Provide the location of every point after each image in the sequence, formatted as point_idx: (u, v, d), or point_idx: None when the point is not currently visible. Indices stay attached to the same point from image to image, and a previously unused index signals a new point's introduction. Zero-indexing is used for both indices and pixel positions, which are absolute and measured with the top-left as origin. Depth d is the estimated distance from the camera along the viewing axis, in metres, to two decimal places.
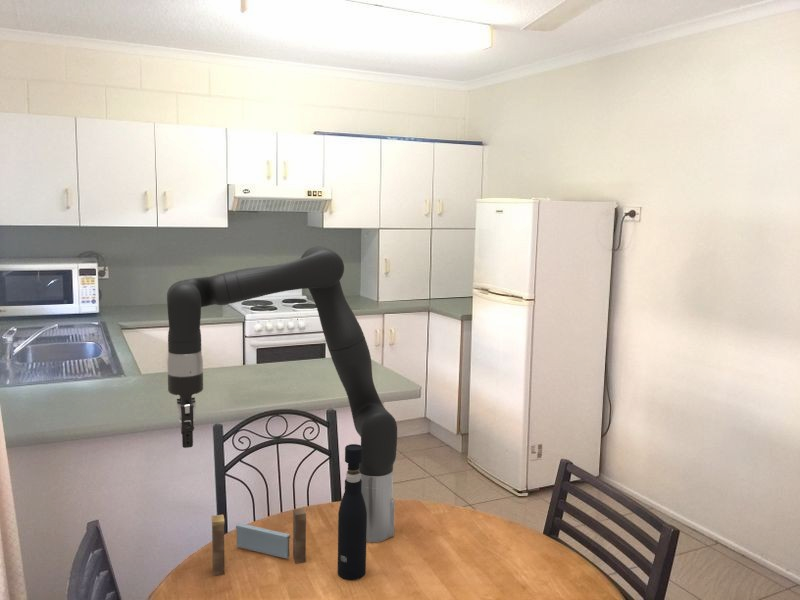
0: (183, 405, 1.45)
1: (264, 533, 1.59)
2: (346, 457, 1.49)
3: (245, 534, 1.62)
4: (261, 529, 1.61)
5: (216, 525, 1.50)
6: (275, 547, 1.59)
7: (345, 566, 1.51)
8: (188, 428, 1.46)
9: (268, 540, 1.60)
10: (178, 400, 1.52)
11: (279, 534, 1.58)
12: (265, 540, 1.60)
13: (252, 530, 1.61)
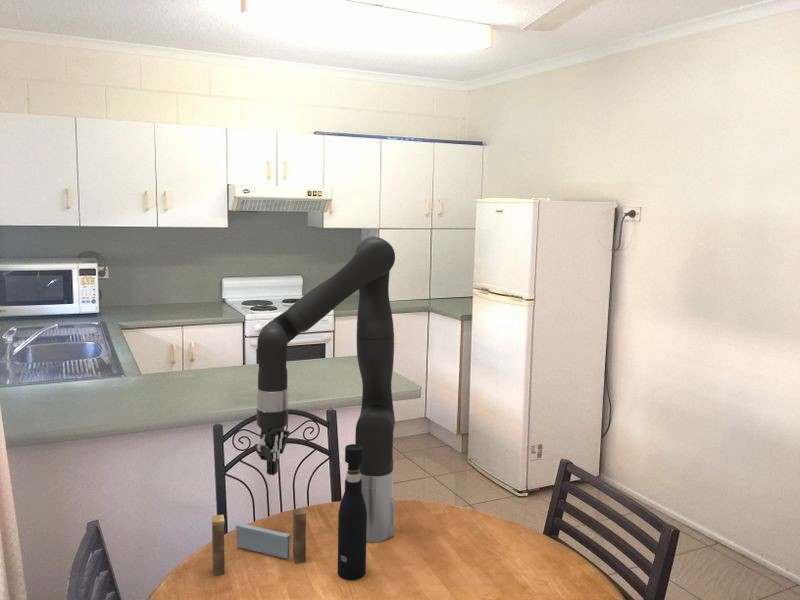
0: None
1: (264, 533, 1.59)
2: (346, 457, 1.49)
3: (245, 534, 1.62)
4: (261, 529, 1.61)
5: (216, 525, 1.50)
6: (275, 547, 1.59)
7: (345, 566, 1.51)
8: None
9: (268, 540, 1.60)
10: (275, 434, 1.63)
11: (279, 534, 1.58)
12: (265, 540, 1.60)
13: (252, 530, 1.61)
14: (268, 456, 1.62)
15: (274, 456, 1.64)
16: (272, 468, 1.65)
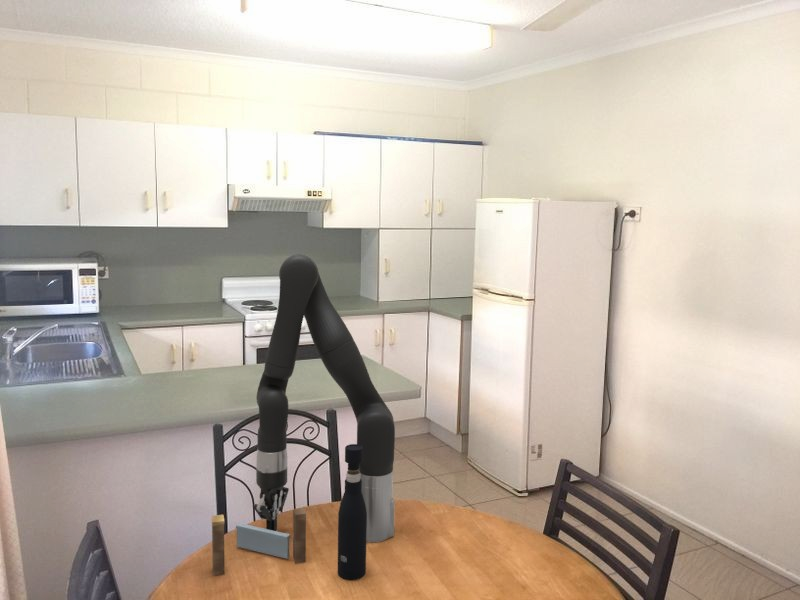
0: None
1: (264, 533, 1.59)
2: (346, 457, 1.49)
3: (245, 534, 1.62)
4: (261, 529, 1.61)
5: (216, 525, 1.50)
6: (275, 547, 1.59)
7: (345, 566, 1.51)
8: None
9: (268, 540, 1.60)
10: (275, 494, 1.66)
11: (279, 534, 1.58)
12: (265, 540, 1.60)
13: (252, 530, 1.61)
14: (268, 515, 1.64)
15: (274, 514, 1.67)
16: (272, 526, 1.67)
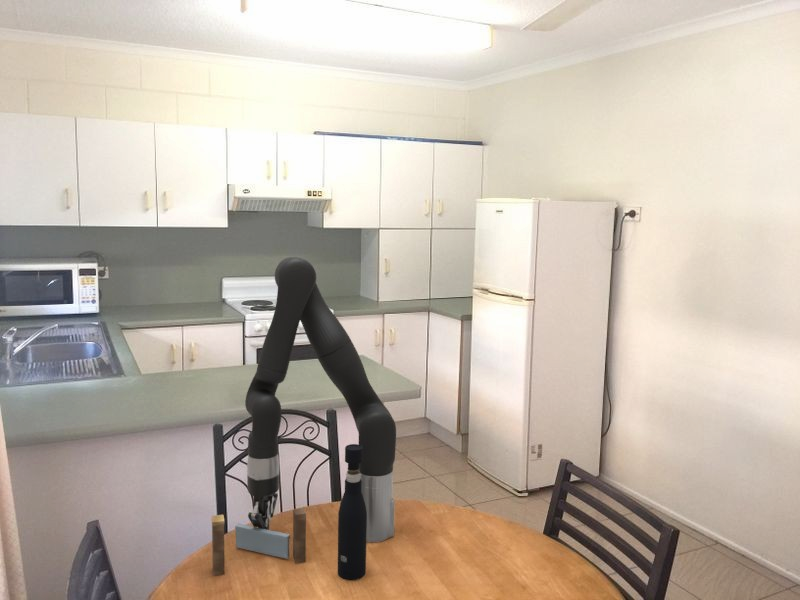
0: None
1: (264, 533, 1.59)
2: (346, 457, 1.49)
3: (245, 534, 1.62)
4: (261, 529, 1.60)
5: (216, 525, 1.50)
6: (275, 548, 1.59)
7: (345, 566, 1.51)
8: None
9: (268, 541, 1.60)
10: (267, 500, 1.62)
11: (279, 534, 1.58)
12: (265, 540, 1.60)
13: (252, 530, 1.60)
14: (262, 523, 1.60)
15: (266, 522, 1.63)
16: None
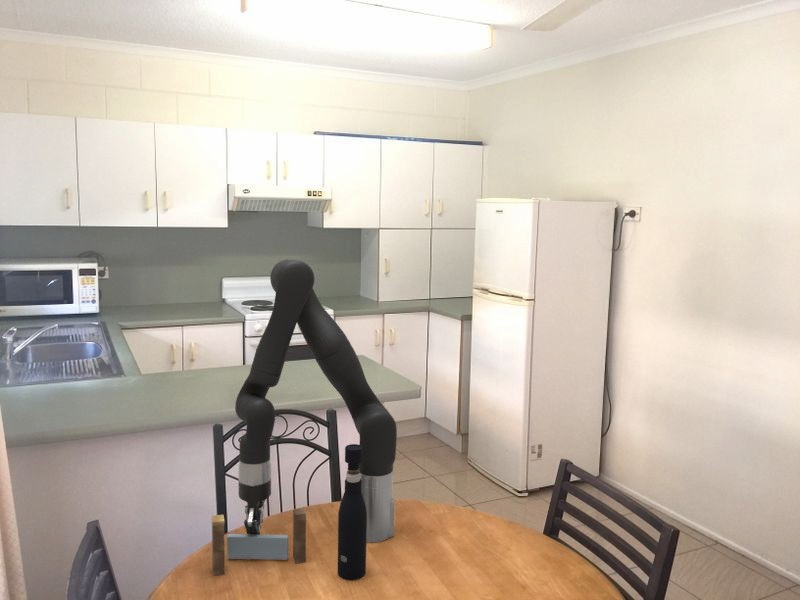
0: None
1: (261, 539, 1.57)
2: (346, 457, 1.49)
3: (238, 543, 1.57)
4: (256, 535, 1.58)
5: (216, 525, 1.50)
6: (274, 551, 1.58)
7: (345, 566, 1.51)
8: None
9: (265, 545, 1.57)
10: (260, 506, 1.59)
11: (278, 537, 1.57)
12: (261, 546, 1.57)
13: (247, 538, 1.57)
14: (257, 529, 1.57)
15: (259, 527, 1.60)
16: None
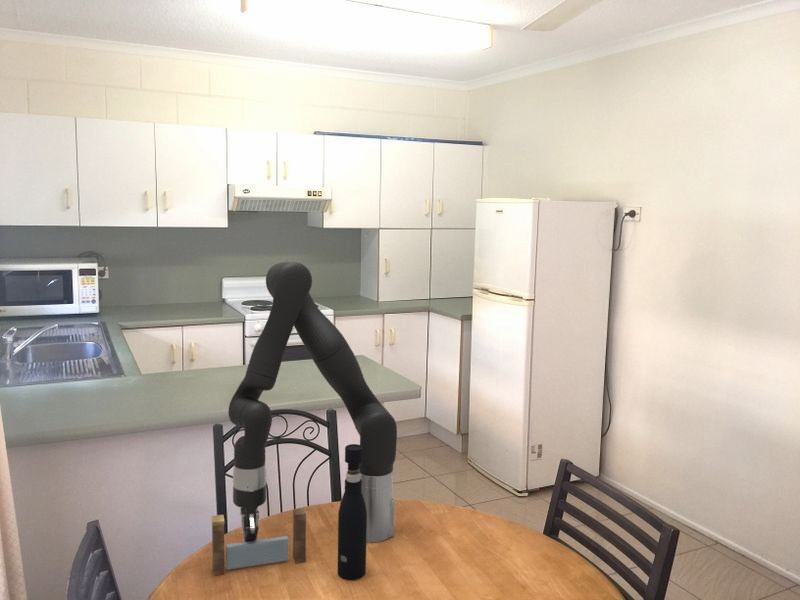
0: None
1: (262, 543, 1.55)
2: (346, 457, 1.49)
3: (237, 552, 1.53)
4: (255, 541, 1.55)
5: (216, 525, 1.50)
6: (274, 554, 1.56)
7: (345, 566, 1.51)
8: None
9: (265, 550, 1.55)
10: (257, 511, 1.56)
11: (278, 539, 1.56)
12: (262, 550, 1.55)
13: (247, 545, 1.54)
14: (256, 535, 1.55)
15: None
16: None
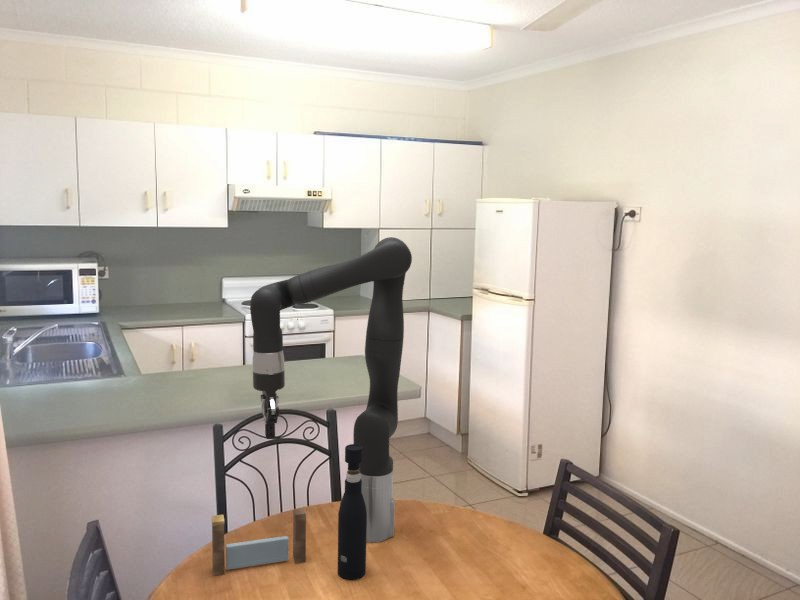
0: None
1: (262, 543, 1.55)
2: (346, 457, 1.49)
3: (237, 552, 1.53)
4: (255, 541, 1.55)
5: (216, 525, 1.50)
6: (274, 554, 1.56)
7: (345, 566, 1.51)
8: None
9: (265, 550, 1.55)
10: (276, 396, 1.64)
11: (278, 539, 1.56)
12: (262, 550, 1.55)
13: (247, 545, 1.54)
14: None
15: None
16: (273, 431, 1.65)
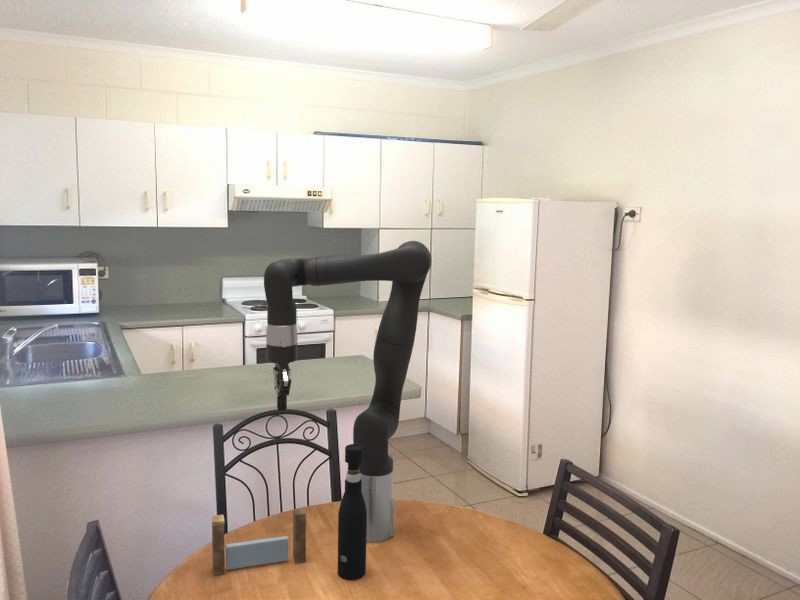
0: None
1: (262, 543, 1.55)
2: (346, 457, 1.49)
3: (237, 552, 1.53)
4: (255, 541, 1.55)
5: (216, 525, 1.50)
6: (274, 554, 1.56)
7: (345, 566, 1.51)
8: None
9: (265, 550, 1.55)
10: None
11: (278, 539, 1.56)
12: (262, 550, 1.55)
13: (247, 545, 1.54)
14: None
15: None
16: None
